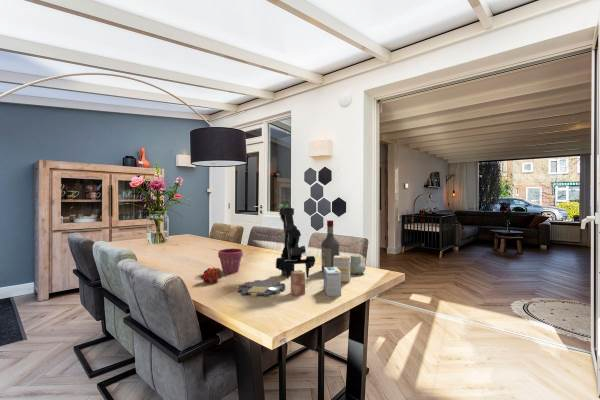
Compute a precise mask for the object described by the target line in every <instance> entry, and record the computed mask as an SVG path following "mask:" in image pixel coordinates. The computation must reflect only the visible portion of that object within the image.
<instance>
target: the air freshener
mask: <svg viewBox="0 0 600 400" xmlns="http://www.w3.org/2000/svg"><path fill="white" fill-rule="evenodd" d="M366 269H367V268H366V265H365V263H362V256H361V255H360V254H351V255H350V274H352V275H360V274H363V273H364V272H365V271H366Z"/></svg>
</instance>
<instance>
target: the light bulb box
mask: <svg viewBox="0 0 600 400" xmlns="http://www.w3.org/2000/svg"><path fill="white" fill-rule="evenodd" d="M323 291H324V292H325V295H326V296H327V297H338V296H339V297H341V296H342V282H341V272H340V270H339V269H338V268H337V267H324V272H323Z"/></svg>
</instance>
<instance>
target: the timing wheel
mask: <svg viewBox="0 0 600 400" xmlns="http://www.w3.org/2000/svg"><path fill="white" fill-rule="evenodd" d="M285 290H286V284H285V283H281V281H280V280H275V281H273V280H272V279H265V280H260V279H257V280H256V279H255V280H254V281H246V282H245V283H244V284H240V285H238V287H237V293H240V294H241V295H242V296H250V298H257V297H264V298H265V297H270V296H271V295H276V296H277V295H279V294H281V292H285Z"/></svg>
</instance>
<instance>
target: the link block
mask: <svg viewBox="0 0 600 400" xmlns="http://www.w3.org/2000/svg"><path fill="white" fill-rule="evenodd" d="M290 293H291V294H292V295H294V296H295V297H296V296H301V295H306V271H305V272H304V271H303V270H298V269H297V270H294V271H291V276H290Z"/></svg>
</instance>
